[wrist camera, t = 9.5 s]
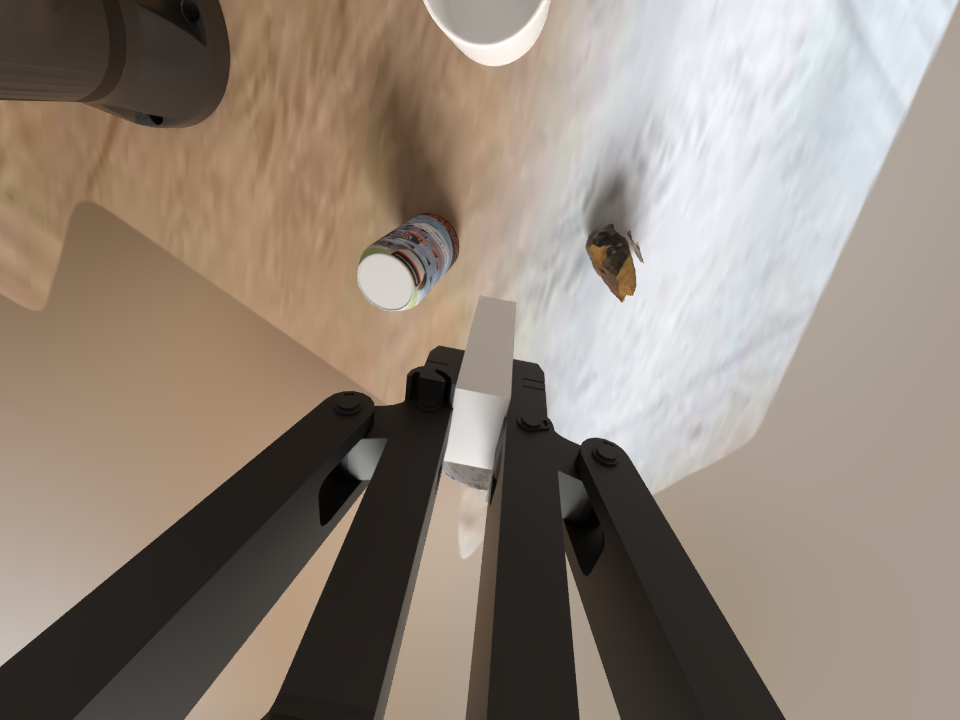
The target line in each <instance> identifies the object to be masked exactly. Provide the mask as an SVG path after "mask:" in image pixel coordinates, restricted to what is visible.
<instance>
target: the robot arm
mask: <svg viewBox="0 0 960 720" xmlns="http://www.w3.org/2000/svg"><path fill="white" fill-rule="evenodd" d="M229 67H230V54H229V43H228V37H227V31H226V27H225V23H224V19H223V16H222V13H221V10H220V7H219V4H218V2H217V0H0V100H22V101H65V102H82V103H85V104H87V105H90V106H92V107H95V108H97V109H100V110H102V111H105V112H107V113H110V114H112V115H115V116H118V117H120V118H123V119H125V120H128V121H130V122H133V123H136V124H139V125H143V126H148V127H154V128H183V127H189V126H192V125H195V124H198V123H200V122H202V121H203V120H205V119H206V118H208V117H209V116H210V115H211V114H212V113H213V112H214V111H215V109H216V108H217V107H218V105H219V103H220V102H221V100H222V98H223V95H224V93H225V90H226V86H227V82H228V77H229ZM515 313H516V303H515V302H510V301H505V300H500V299H495V298H490V297H485V296H480V297H479V301H478V304H477V308H476V312H475V316H474V320H473V323H472V327H471V331H470V335H469V338H468V342H467V346H466V350H465V351H464V350H459V349H454V348H449V347H444V346H438V347H436V348H435V349H433V350H432V351H430V353H429V356H428V358H427V361H426V363H425V365H424V366H421V367H417V368H415V369H413V370H411V371H410V372H409V373H408V374H407V383H406V395H405V401H404V402H402V403H399V404H395V405H388V406H374V402H373V401H372V399H371V398H370V397H368V396H367V395H365V394H363V393H359V392H355V391H345V392H340V393H336V394H333V395H332V396H330V397H328V398H327V399H325V400H324V401H323V402H322V403H320V404H319V405H318V406H317V407H316V408H314V409H313V410H312V411H311V412H309V413H308V414H307V415H306V416H305V417H303V418H302V419H301V420H300V421H299V422H297V423H296V424H295V425H294V426H292V427H291V428H290V429H289V430H288V431H287V432H285V433H284V434H283V435H282V436H280V437H279V438H278V439H277V440H275V441H274V442H273V443H272V444H271V445H270V446H268V447H267V448H266V449H265V450H263V451H262V452H261V453H260V454H258V455H257V456H256V457H255V458H254V459H252V460H251V461H250V462H249V463H247V464H246V465H245V466H244V467H243V468H242V469H240V470H239V471H238V472H237V473H235V474H234V475H233V476H232V477H230V479H228V480H227V481H226V482H224V483H223V484H222V485H221V486H220V487H218V488H217V489H216V490H215V491H213V492H212V493H211V494H210V495H209V496H207V497H206V498H205V499H204V500H203V501H201V502H200V503H199V504H198V505H196V506H195V507H194V508H193V509H192V510H190V511H189V512H188V513H187V514H186V515H184V516H183V517H182V518H181V519H179V520H178V521H177V522H176V523H175V524H173V525H172V526H171V527H170V528H169V529H168V530H166V531H165V532H164V533H162V534H161V535H160V536H159V537H158V538H156V539H155V540H154V541H153V542H151V543H150V544H149V545H148V546H147V547H146V548H144V549H143V550H142V551H141V552H139V553H138V554H137V555H136V556H134V557H133V558H132V559H131V560H130V561H128V562H127V563H126V564H125V565H124V566H122V567H121V568H120V569H119V570H117V571H116V572H115V573H114V574H113V575H111V576H110V577H109V578H108V579H107V580H105V581H104V582H103V583H102V584H100V585H99V586H98V587H97V588H96V589H95V590H93V591H92V592H91V593H90V594H88V595H87V596H86V597H85V598H83V599H82V600H81V601H80V602H79V603H77V604H76V605H75V606H74V607H73V608H71V609H70V610H69V611H68V612H66V613H65V614H64V615H63V616H62V617H60V618H59V619H58V620H57V621H56V622H55V623H53V624H52V625H51V626H49V627H48V628H47V629H46V630H45V631H43V632H42V633H41V634H40V635H39V636H37V637H36V638H35V639H34V640H32V641H31V642H30V643H29V644H28V645H27V646H25V647H24V648H23V649H22V650H21V651H19V652H18V653H17V654H15V655H14V656H13V657H12V658H11V659H9V660H8V661H7V662H6V663H5V664H3V665H2V666H1V667H0V720H184V719H185V718H186V716H187V715H188V714H189V713H190V711H191V710H192V709H193V707H194V706H195V705H196V704H197V702H198V701H199V700H200V698H201V697H202V696H203V695H204V693H205V692H206V691H207V690H208V688H209V687H210V686H211V685H212V683H213V682H214V680H215V679H216V678H217V677H218V676H219V674H220V673H221V672H222V671H223V669H224V668H225V667H226V665H227V664H228V663H229V662H230V660H231V659H232V658H233V656H234V655H235V654H236V653H237V651H238V650H239V649H240V648H241V646H242V645H243V644H244V642H245V641H246V640H247V639H248V637H249V636H250V635H251V634H252V632H253V631H254V630H255V628H256V627H257V626H258V625H259V623H260V622H261V621H262V620H263V618H264V617H265V616H266V615H267V613H268V612H269V611H270V609H271V608H272V607H273V606H274V604H275V603H276V602H277V601H278V599H279V598H280V597H281V595H282V594H283V593H284V591H285V590H286V589H287V588H288V587H289V585H290V584H291V583H292V581H293V580H294V579H295V578H296V576H297V575H298V574H299V573H300V571H301V570H302V569H303V567H304V566H305V565H306V564H307V562H308V561H309V560H310V558H311V557H312V556H313V555H314V553H315V552H316V551H317V550H318V548H319V547H320V545H322V543H323V542H324V541H325V539H326V538H327V537H328V536H329V534H330V533H331V532H332V531H333V529H334V528H335V527H336V525H337V524H338V523H339V522H340V520H341V519H342V518H343V516H344V515H345V514H346V513H347V511H348V510H349V509H350V508H351V506H352V505H353V504H354V502H355V501H356V500H357V499H358V497H359V496H360V495H361V494H362V492H363V491H364V490H365V488H366V487H367V486H368V487H367V489H366V491H365V494H364V496H363V498H362V501H361V503H360V505H359V508H358V510H357V512H356V515H355V517H354V520H353V522H352V524H351V527H350V529H349V531H348V533H347V536H346V538H345V540H344V543H343V545H342V547H341V550H340V552H339V554H338V557H337V559H336V561H335V564H334V566H333V568H332V571H331V573H330V575H329V577H328V580H327V582H326V585H325V587H324V589H323V591H322V594H321V596H320V598H319V601H318V603H317V605H316V608H315V610H314V613H313V615H312V617H311V619H310V622H309V624H308V627H307V629H306V631H305V633H304V636H303V638H302V640H301V643H300V645H299V647H298V650H297V652H296V654H295V657H294V659H293V661H292V664H291V666H290V668H289V671H288V673H287V675H286V677H285V680H284V682H283V684H282V687H281V689H280V692H279V694H278V696H277V698H276V700H275V702H274V704H273V705H272V707H271V709H270V710H269V712H268V713H267V714H266V715H265V716H264V717H263V718H262V719H261V720H383V718H384V714H385V710H386V706H387V701H388V697H389V693H390V689H391V685H392V680H393V676H394V672H395V668H396V664H397V659H398V655H399V651H400V647H401V642H402V638H403V634H404V630H405V625H406V621H407V616H408V613H409V609H410V604H411V600H412V596H413V592H414V587H415V583H416V578H417V575H418V570H419V566H420V562H421V558H422V554H423V549H424V545H425V541H426V537H427V532H428V528H429V524H430V520H431V515H432V511H433V507H434V503H435V498H436V494H437V490H438V486H439V482H440V477H441V473H442V467H443V461H448V462H454V463H459V464H464V465H469V466H474V467H479V468H484V469H489V470H492V469H493V474H492V478H491V482H490V485H489V489H488V493H487V497H486V500H485V501H487V502H488V507H487V517H486V526H485V536H484V547H483V555H482V565H481V576H480V585H479V594H478V595H479V596H478V604H477V614H476V624H475V633H474V643H473V653H472V663H471V672H470V682H469V691H468V701H467V710H466V720H579V708H578V697H577V685H576V673H575V662H574V651H573V640H572V628H571V617H570V605H569V593H568V582H567V571H566V559H565V552H566V555H567V558H568V561H569V564H570V567H571V570H572V573H573V576H574V579H575V582H576V585H577V588H578V591H579V594H580V597H581V600H582V603H583V606H584V609H585V613H586V615H587V619H588V621H589V624H590V628H591V631H592V633H593V637H594V640H595V643H596V646H597V649H598V652H599V654H600V658H601V661H602V664H603V667H604V670H605V673H606V676H607V679H608V682H609V685H610V688H611V691H612V694H613V697H614V700H615V703H616V706H617V709H618V712H619V715H620V718H621V720H786V719H785V718H784V716H783V714H782V712H781V711H780V709H779V707H778V706H777V704H776V702H775V701H774V699H773V697H772V696H771V694H770V692H769V691H768V689H767V687H766V686H765V684H764V683H763V681H762V679H761V677H760V676H759V674H758V673H757V671H756V669H755V667H754V666H753V664H752V662H751V661H750V659H749V657H748V656H747V654H746V652H745V651H744V649H743V647H742V646H741V644H740V642H739V641H738V639H737V637H736V635H735V634H734V632H733V631H732V629H731V627H730V626H729V624H728V622H727V621H726V619H725V617H724V615H723V614H722V612H721V610H720V609H719V607H718V606H717V604H716V602H715V601H714V599H713V597H712V595H711V594H710V592H709V590H708V589H707V587H706V585H705V584H704V582H703V580H702V579H701V577H700V575H699V574H698V572H697V570H696V569H695V567H694V565H693V564H692V562H691V560H690V559H689V557H688V555H687V554H686V552H685V550H684V548H683V547H682V545H681V543H680V542H679V540H678V538H677V537H676V535H675V533H674V532H673V530H672V529H671V527H670V525H669V523H668V522H667V520H666V519H665V517H664V515H663V513H662V512H661V510H660V508H659V507H658V505H657V503H656V502H655V500H654V498H653V497H652V495H651V493H650V492H649V490H648V488H647V487H646V485H645V483H644V482H643V480H642V478H641V477H640V475H639V473H638V471H637V470H636V468H635V466H634V465H633V463H632V461H631V460H630V458H629V456H628V455H627V454H626V453H625V452H624V450H623V449H622V448H620V447H619V446H618V445H616V444H615V443H613V442H610V441H608V440H606V439H601V438H589V439H587V440H585V441H584V442H582V445H578V444H576V443H574V442H571V441H569V440H567V439H565V438H563V437H561V436H560V435H559V434H557V433H556V432H555V431H554V427H553V424H552V422H551V421H550V419H549V418H548V417H547V406H546V392H545V384H544V383H545V378H544V372H543V371H542V369H541V368H540V366H539V365H538V364H536V363H531V362H525V361H520V360H515V359H513V349H514V331H515ZM493 465H494V468H493Z"/></svg>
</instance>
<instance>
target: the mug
mask: <svg viewBox="0 0 960 720" xmlns="http://www.w3.org/2000/svg"><path fill="white" fill-rule="evenodd" d="M423 1H424V3H425V5H426V8H427V10H428V11H429V13H430V15H431V16H432V18H433V20H434V21H435V22H436V23H437V25H438V26H439V27H440V28H441V29H442V31H443V32H444V33H445V34H446V35H447V36H448V37H449V38H450V39H451V40H452V41H453V43H454V44H455V45H456V46H457V47H458V48H459V49H460V50H461V51H462V52H463V53H464V54H465V55H466V56H468V57H469V58H470V59H472V60H474V61H476V62H478V63H481V64H483V65H488V66H500V65H505V64H509V63H511V62H513V61H515V60H517V59H518V58H520V57H521V56H523V55H524V54H525V53H526V52H527V51H528V50H529V49H530V48H531V47H532V46H533V44H534V43H535V41H536V40H537V38H538V37H539V35H540V33H541V31H542V29H543V26H544V24H545V21H546V18H547V14H548V11H549V6H550V1H551V0H423Z"/></svg>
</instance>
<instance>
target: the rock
mask: <svg viewBox="0 0 960 720" xmlns="http://www.w3.org/2000/svg"><path fill="white" fill-rule="evenodd" d="M626 233H627V235H628V237H629V241H630V243H631V245H632V247H633V249H634V252H635V253H636V255H637V257H638V258H639V260H640V261H641V262H643V259H642V257H641V252H640V248H639V245H638V242H637V243H636V244H635V243H634V242H633V240H632V239H631V234H630V233H631V231H629V232H626ZM586 250H587V253H588V255H589V256H590V259H591V261H592V265H593V267H594V269H595V271H596V272H597V274H598V275H599V276H601V277H602V279H603V281H604V282H605V283H606V284H607V286H608V287H609V288H610V290H611V292H612V293H613V294H614V295H615V296H616V297H617V298H618V299H619V300H620V301H621V302H622V303H623V301H624V298H625V296H626V295H630V296H631V295H633V294H634V291H635V288H636V275H635V271H636V270H635V268H634V264H633V259H632V256H631V254H630V251H629V245H628V242H627V241H626V238H624V237H622V236H620V235H619V233H617V232H616V231H615V230H614V226H613V224H610V225H607V226H606V227H603V228H598V229H596V230H595V231H594V232H593V233H592V234H590V235H589V237H588V240H587V243H586ZM643 263H644V262H643Z"/></svg>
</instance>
